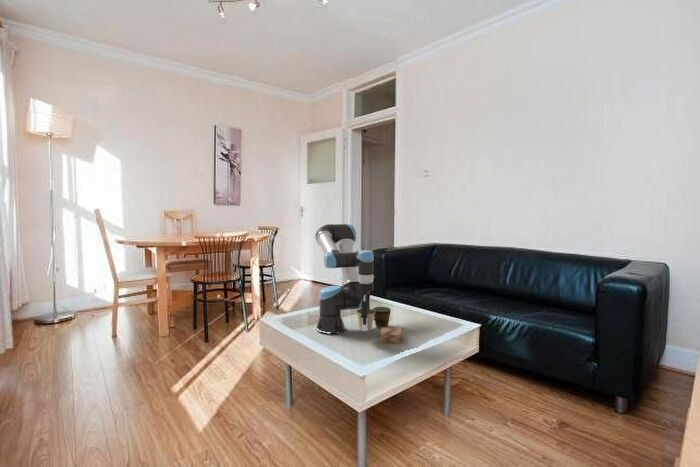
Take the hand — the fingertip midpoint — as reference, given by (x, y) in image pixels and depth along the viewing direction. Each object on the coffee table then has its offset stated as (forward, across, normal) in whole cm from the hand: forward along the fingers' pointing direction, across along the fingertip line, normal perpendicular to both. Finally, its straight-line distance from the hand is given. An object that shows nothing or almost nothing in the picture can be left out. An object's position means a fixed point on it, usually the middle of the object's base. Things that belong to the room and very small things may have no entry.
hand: (365, 327), depth 178 cm
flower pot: (+1, 0, 0) cm, 1 cm away
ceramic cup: (+8, +22, -5) cm, 24 cm away
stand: (+7, +4, -12) cm, 15 cm away
